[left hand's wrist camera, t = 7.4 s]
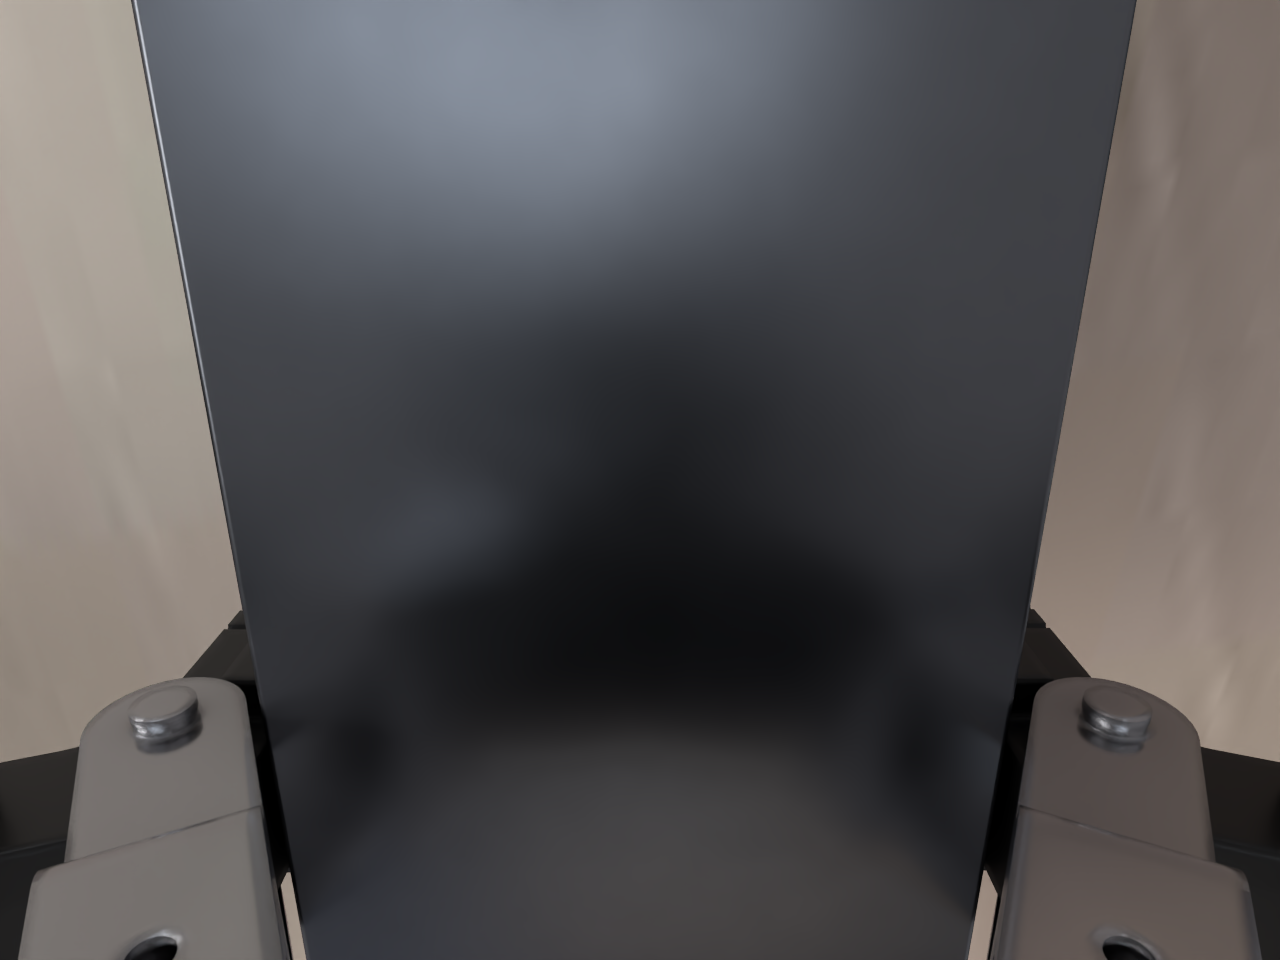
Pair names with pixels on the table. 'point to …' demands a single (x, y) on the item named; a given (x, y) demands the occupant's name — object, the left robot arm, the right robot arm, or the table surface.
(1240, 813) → the left robot arm
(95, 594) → the table surface
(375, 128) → the box
